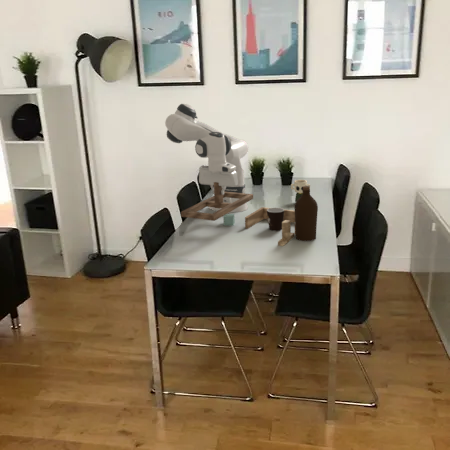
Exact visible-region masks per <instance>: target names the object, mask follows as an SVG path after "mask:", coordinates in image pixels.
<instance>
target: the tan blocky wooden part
mask: <svg viewBox="0 0 450 450" xmlns="http://www.w3.org/2000/svg"><path fill="white" fill-rule="evenodd" d="M291 223H292V222H291V221H290V220H285V221H283V222H282V230H281V238H280V239H279V240H278V241H277V247H278V246H280V247H284V246H285V245H286V244H287V243H289V242H290V241H291V240H292V239H294V238H295V232H291V231H292V230H291V229H292V227H291V226H292V225H291Z"/></svg>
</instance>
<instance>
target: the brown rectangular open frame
mask: <svg viewBox="0 0 450 450" xmlns="http://www.w3.org/2000/svg"><path fill="white" fill-rule="evenodd" d="M222 189H223V188H222V186H219V183H218V182H214V194H213V196H210V197H208V198H207V199H204V200H203V201H200V202H198V203H196V204H194V205H192V206H190V207H188V208H186V209H184V210H182V211H181V212H180V216H181V218H188V219H197V220H206V221H213V222H214V221H216V220H219V219H221V218H223V217H224V215H225V214H230V213H229V212H231V211H232V210H234V209H236V208H238V207H240V206H241V205H243V204H245V203H248V202H251V201H252V200H253V199H254V194H252V193H246V192H245V193H235V192H224V195H220V191H222ZM225 197H228V198H238V199H239V200H237V201H235V202H233V203H226V202H223V198H225ZM206 207H208V208H209V207H215V208H219V209H220V208H222V209H220V210H218V211H215V212H213V213H209V212H203V211H202V212H200V210H203V209H205V208H206Z"/></svg>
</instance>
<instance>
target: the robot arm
mask: <svg viewBox="0 0 450 450" xmlns="http://www.w3.org/2000/svg"><path fill="white" fill-rule="evenodd" d="M196 119H198V116H197V112H196V109H194V107H193V106H191V105H190V104H188V103H181V104H179V105H178V106H177V108H176V110H175V112H174V113H173V114H169V115H168V116H167V117H166V119H165V121H164V123H165V127H166V129H167V130H166V137H167V139H168V140H169V141H171V142H172V143H175V144H181V143H183V142H194V141H195V142H196V143H195V146H194V148H195V149H194V150H195V153H196V155H197V156H198V157H200V158H203V159H206V158H208V159H207V165H205V164H204V165H203V164H202V165H201V166H199V168H198V171H199V172H198V174H199V175H198V183H199V184H200V185H205V186H206V185H207V186H210V188H211V191H212V194H213V195H214V182H218V183H219V186H222V188H223V189H222V191H220V195H224V192H235V193H245V194H246V184H245V171H244V169H243V167H242V163H241V159H243V158H244V157H245V156H246V155H247V154H248V152H249V145H248V143H247V142H246V141H245V140H244V139H240V138H237V137H234V136H231V135H230V134H226V133H224V132H221V131H219V130H218V129H216V128H214V127H212V126H210V125H208V124H207V123H205V122H202V121H199V120H196ZM237 200H239V199H238V198H228V197H225V198H223V202H226V203H233V202H235V201H237ZM247 203H248V202H247ZM247 203H245V204H243V205H241V206H240V207H238V208H236V209H234V210H232V211H231V212H229V213H228V214H233V213H239V212H241V213H242V212H244V211H247V210H248V209H249V206H248V204H247ZM210 209H212V210H211V211H215V210H217V211H218V210H220V209H222V208H220V209H219V208H215V207H208V210H210Z"/></svg>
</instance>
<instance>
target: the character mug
mask: <svg viewBox="0 0 450 450" xmlns="http://www.w3.org/2000/svg"><path fill="white" fill-rule="evenodd" d="M303 186H310V187H311V184H310V183H308V181H307V180H306V179H296V180H294V183H291V184H290V189H291V190H293V191H294V192H295V198H294V199H295V200H294V202H295V203H296V201H297V200H298V199H299V198H300V197H301V196H302V194H303V191H302V190H303Z"/></svg>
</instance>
